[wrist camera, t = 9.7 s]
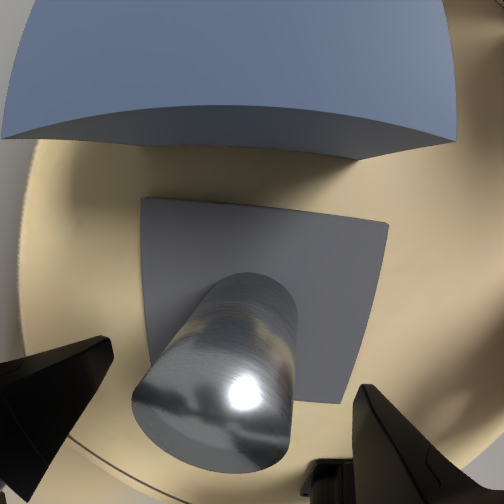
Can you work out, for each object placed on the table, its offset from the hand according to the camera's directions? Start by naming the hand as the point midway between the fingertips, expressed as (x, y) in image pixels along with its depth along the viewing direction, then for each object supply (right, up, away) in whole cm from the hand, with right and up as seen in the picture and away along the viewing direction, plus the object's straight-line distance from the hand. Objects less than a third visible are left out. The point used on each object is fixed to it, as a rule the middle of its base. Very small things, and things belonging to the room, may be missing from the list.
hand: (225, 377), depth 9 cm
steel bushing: (+1, +1, +4) cm, 5 cm away
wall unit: (+1, +11, +2) cm, 11 cm away
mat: (+1, +1, +5) cm, 5 cm away
